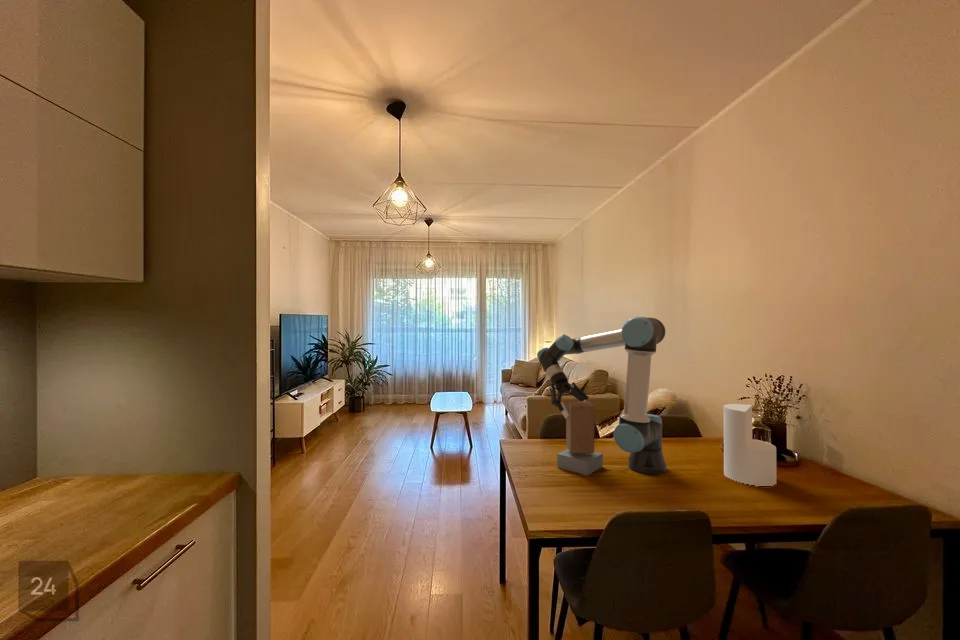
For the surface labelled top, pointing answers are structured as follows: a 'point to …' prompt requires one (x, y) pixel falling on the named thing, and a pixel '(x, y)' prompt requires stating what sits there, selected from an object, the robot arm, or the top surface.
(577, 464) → the slate base block
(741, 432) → the white stepped column
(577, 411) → the wooden block
